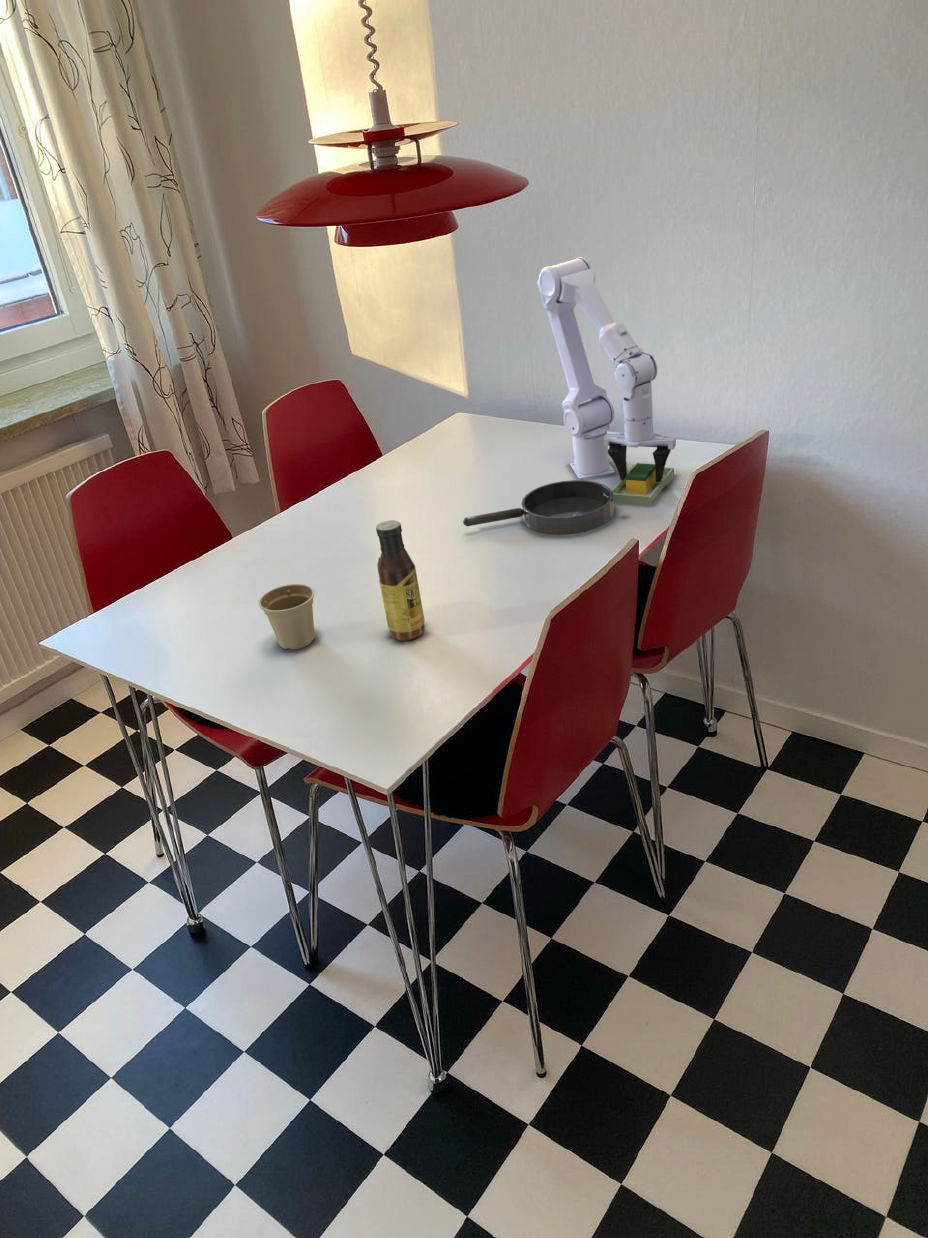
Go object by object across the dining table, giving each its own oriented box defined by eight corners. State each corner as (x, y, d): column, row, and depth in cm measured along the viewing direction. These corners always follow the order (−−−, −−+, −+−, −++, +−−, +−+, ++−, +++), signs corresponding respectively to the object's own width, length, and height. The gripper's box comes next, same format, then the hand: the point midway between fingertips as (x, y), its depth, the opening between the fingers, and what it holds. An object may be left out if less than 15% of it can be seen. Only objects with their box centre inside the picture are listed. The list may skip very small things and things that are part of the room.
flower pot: (299, 621, 175) (288, 578, 170) (336, 634, 169) (325, 590, 165) (259, 646, 169) (247, 603, 165) (295, 660, 163) (283, 616, 159)
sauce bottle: (421, 642, 163) (401, 534, 153) (385, 642, 164) (363, 535, 154) (430, 621, 168) (411, 516, 158) (395, 622, 170) (374, 517, 160)
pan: (517, 507, 204) (514, 489, 202) (601, 492, 205) (600, 474, 203) (532, 543, 189) (530, 524, 187) (624, 526, 189) (623, 507, 187)
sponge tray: (633, 473, 211) (633, 465, 210) (674, 476, 207) (674, 467, 206) (608, 502, 200) (607, 493, 199) (651, 505, 196) (650, 497, 195)
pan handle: (523, 514, 196) (522, 505, 195) (524, 517, 195) (523, 509, 194) (463, 524, 196) (461, 516, 195) (464, 528, 194) (463, 520, 193)
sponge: (638, 479, 207) (637, 463, 205) (657, 481, 205) (656, 464, 203) (626, 493, 202) (625, 476, 200) (646, 494, 200) (645, 477, 198)
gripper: (596, 421, 196) (601, 484, 203) (667, 424, 189) (669, 489, 196) (609, 409, 201) (613, 471, 208) (678, 411, 194) (680, 475, 201)
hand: (641, 479), depth 202 cm, fingers open, 7 cm apart
